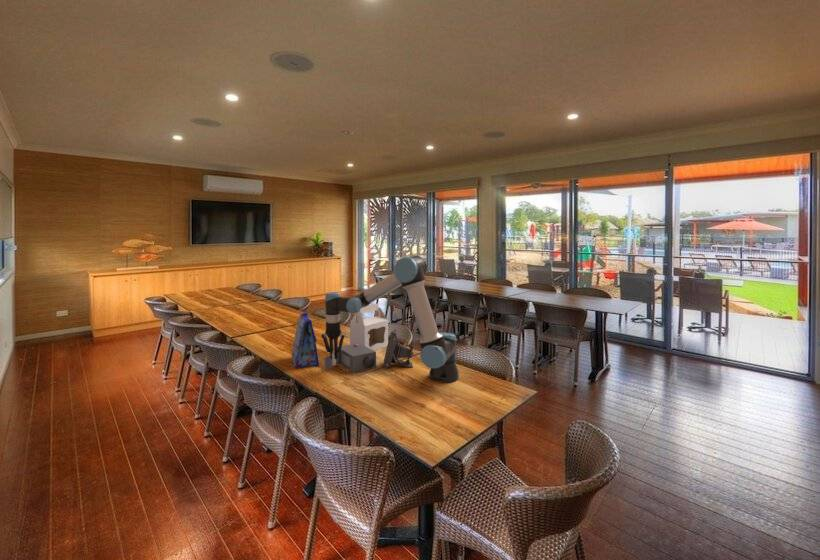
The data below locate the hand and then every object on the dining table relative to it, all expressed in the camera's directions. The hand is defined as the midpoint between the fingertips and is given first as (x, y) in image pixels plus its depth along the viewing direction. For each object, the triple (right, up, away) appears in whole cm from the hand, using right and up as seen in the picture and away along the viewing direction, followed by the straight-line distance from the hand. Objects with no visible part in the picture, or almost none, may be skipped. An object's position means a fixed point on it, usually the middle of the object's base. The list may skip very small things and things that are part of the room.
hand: (334, 364), depth 208 cm
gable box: (+14, +1, +42) cm, 45 cm away
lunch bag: (-20, -2, +15) cm, 24 cm away
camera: (+34, -3, +9) cm, 36 cm away
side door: (-2, -2, +3) cm, 4 cm away
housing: (+11, -2, +9) cm, 14 cm away
